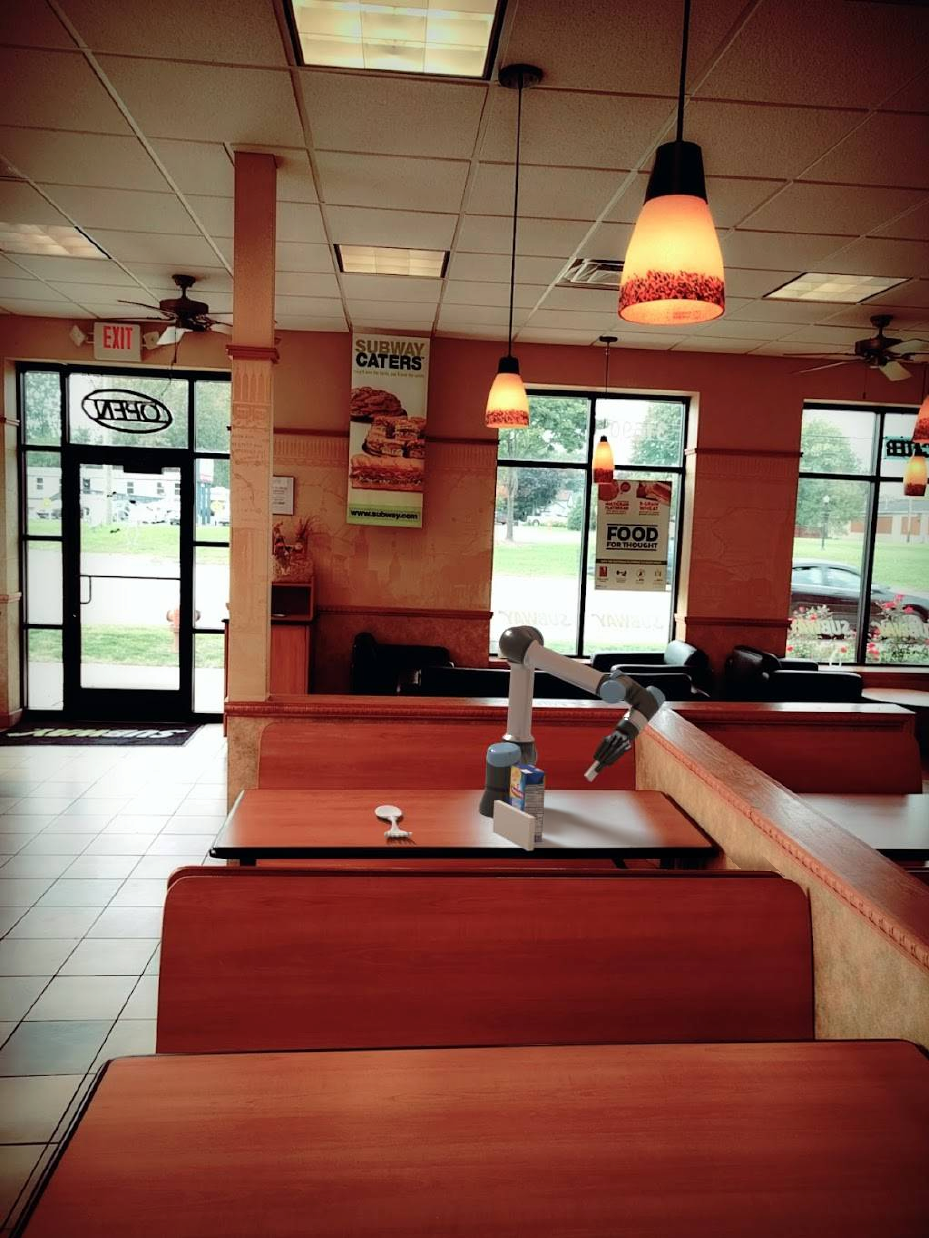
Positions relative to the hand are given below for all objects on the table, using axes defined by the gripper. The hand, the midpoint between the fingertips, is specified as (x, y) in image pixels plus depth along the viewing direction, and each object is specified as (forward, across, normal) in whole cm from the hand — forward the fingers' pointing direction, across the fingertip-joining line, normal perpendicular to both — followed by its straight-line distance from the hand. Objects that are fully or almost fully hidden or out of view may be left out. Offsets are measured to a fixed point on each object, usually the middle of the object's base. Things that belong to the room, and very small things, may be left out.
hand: (587, 778), depth 272 cm
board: (+32, +1, +6) cm, 32 cm away
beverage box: (+28, +3, +2) cm, 28 cm away
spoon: (+53, +27, +27) cm, 65 cm away
